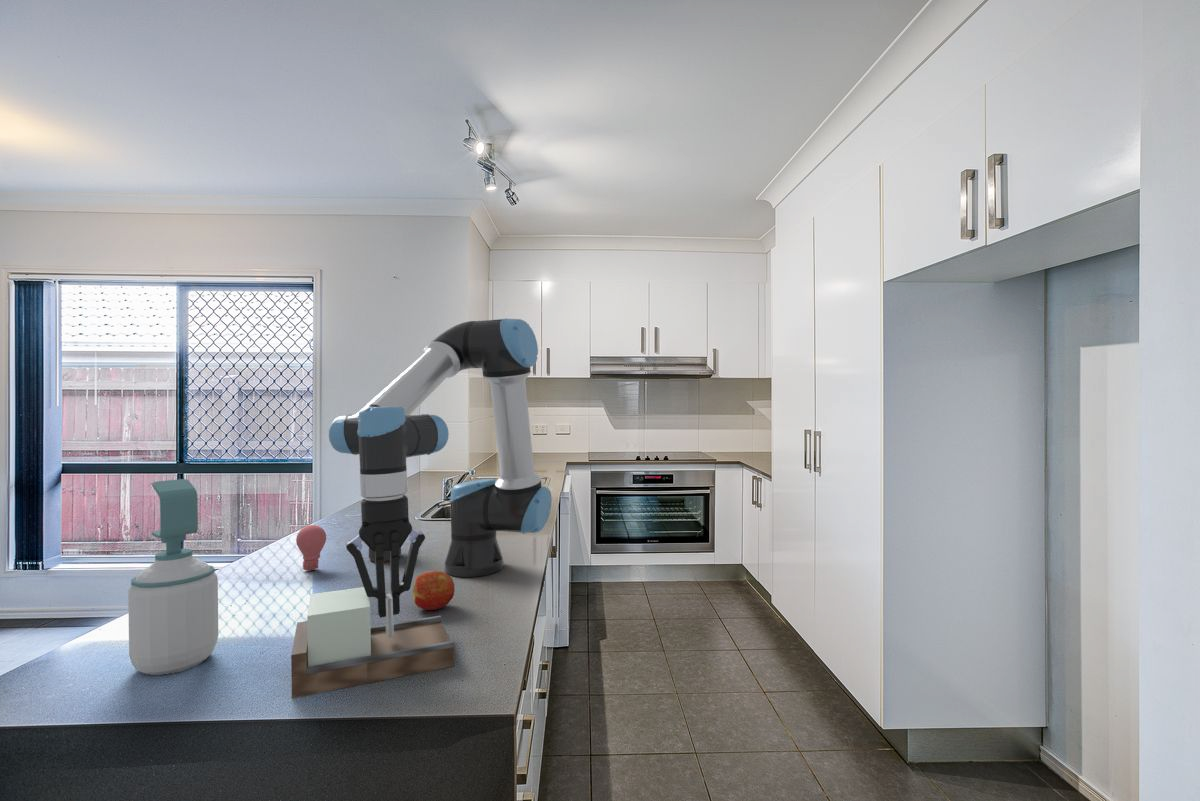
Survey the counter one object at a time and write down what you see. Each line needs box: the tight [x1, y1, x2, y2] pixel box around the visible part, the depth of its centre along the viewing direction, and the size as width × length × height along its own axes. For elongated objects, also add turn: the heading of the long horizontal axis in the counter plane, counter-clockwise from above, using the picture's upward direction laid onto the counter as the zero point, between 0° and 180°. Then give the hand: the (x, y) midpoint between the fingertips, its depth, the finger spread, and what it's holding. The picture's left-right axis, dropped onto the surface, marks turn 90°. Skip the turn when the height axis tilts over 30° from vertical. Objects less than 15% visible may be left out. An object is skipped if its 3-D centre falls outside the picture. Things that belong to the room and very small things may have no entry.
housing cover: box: [306, 586, 372, 667], centre depth 95 cm, size 9×11×8 cm
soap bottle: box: [127, 478, 219, 676], centre depth 98 cm, size 12×12×31 cm
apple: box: [412, 570, 456, 611], centre depth 123 cm, size 8×8×8 cm
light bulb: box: [295, 524, 327, 572], centre depth 151 cm, size 7×7×12 cm
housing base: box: [290, 615, 455, 699], centre depth 97 cm, size 24×14×6 cm, turn 115°
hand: (389, 633), depth 98 cm, fingers closed
